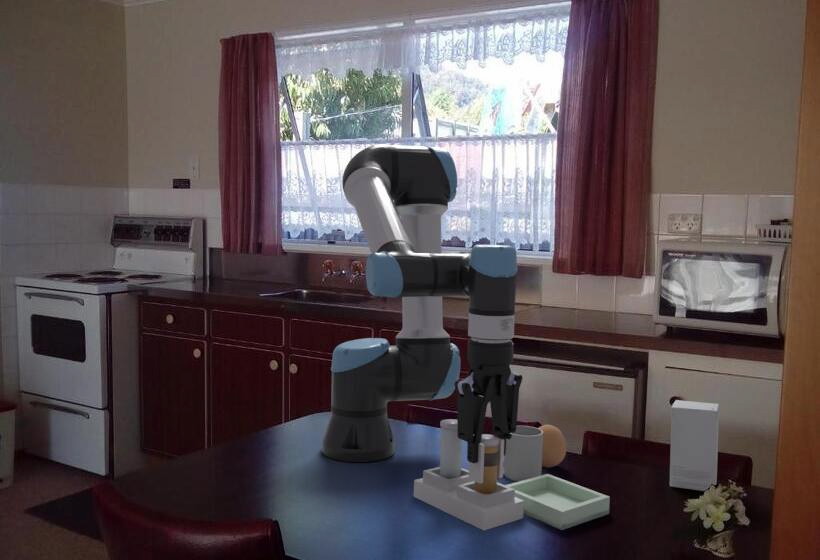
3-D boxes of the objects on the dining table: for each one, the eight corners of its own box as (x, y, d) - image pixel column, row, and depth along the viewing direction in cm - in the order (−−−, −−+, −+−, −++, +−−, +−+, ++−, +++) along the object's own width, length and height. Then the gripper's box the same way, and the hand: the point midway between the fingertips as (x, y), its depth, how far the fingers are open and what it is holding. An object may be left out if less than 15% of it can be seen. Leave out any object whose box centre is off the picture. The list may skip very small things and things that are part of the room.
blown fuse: (469, 495, 130) (471, 436, 129) (485, 490, 132) (487, 432, 131) (484, 502, 127) (486, 442, 126) (501, 497, 129) (503, 438, 128)
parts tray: (500, 503, 135) (500, 486, 135) (546, 489, 143) (547, 473, 143) (561, 530, 125) (562, 512, 124) (609, 513, 132) (609, 496, 132)
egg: (561, 474, 151) (563, 432, 151) (524, 469, 154) (526, 427, 153) (568, 464, 158) (570, 422, 157) (532, 459, 161) (534, 418, 160)
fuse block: (413, 496, 138) (415, 420, 136) (452, 486, 143) (454, 413, 142) (483, 530, 124) (486, 445, 122) (523, 518, 129) (526, 436, 128)
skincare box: (717, 483, 148) (721, 403, 147) (714, 494, 142) (719, 411, 141) (671, 476, 152) (675, 398, 151) (666, 486, 146) (671, 405, 145)
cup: (537, 484, 145) (539, 438, 145) (485, 477, 149) (487, 431, 148) (544, 472, 152) (546, 428, 152) (494, 466, 156) (495, 422, 155)
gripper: (468, 347, 119) (463, 495, 121) (543, 338, 130) (537, 475, 132) (436, 340, 125) (432, 481, 127) (510, 332, 135) (505, 463, 138)
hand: (485, 477), depth 129 cm, fingers closed on blown fuse, 4 cm apart
